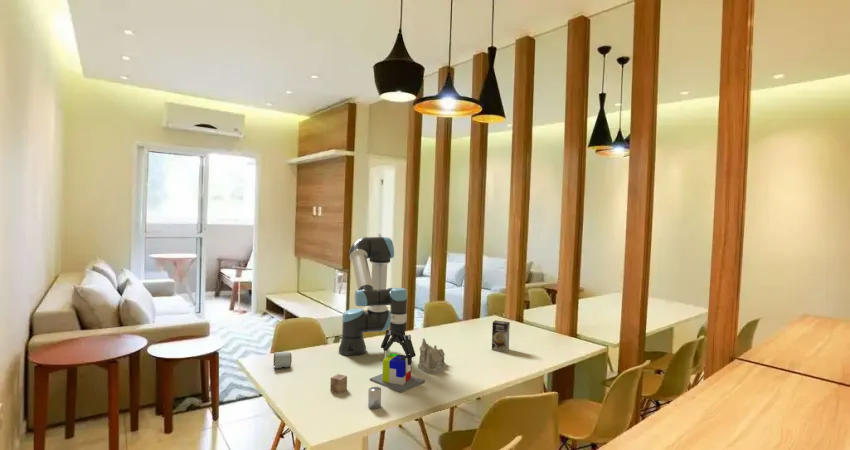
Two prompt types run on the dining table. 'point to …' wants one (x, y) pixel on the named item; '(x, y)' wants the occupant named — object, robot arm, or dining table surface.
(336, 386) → the walnut block
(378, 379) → the charcoal mat
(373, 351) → the dining table surface
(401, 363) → the puzzle toy
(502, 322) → the coffee box
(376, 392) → the grey metal cylinder
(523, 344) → the dining table surface
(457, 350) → the dining table surface
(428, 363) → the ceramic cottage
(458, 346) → the dining table surface
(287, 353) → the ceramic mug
